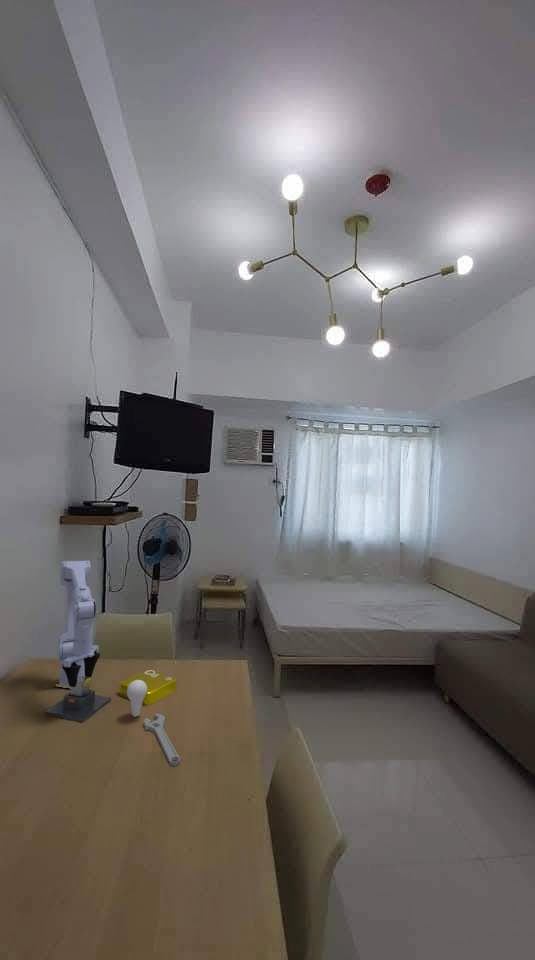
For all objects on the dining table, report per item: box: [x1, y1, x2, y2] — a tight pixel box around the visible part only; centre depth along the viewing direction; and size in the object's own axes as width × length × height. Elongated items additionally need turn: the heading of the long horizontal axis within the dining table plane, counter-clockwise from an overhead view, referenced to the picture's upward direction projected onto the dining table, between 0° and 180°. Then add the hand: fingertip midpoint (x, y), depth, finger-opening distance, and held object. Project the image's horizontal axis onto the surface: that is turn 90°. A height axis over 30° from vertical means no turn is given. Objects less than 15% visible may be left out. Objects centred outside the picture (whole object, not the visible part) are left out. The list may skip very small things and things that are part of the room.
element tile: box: [119, 668, 178, 706], centre depth 147 cm, size 15×15×5 cm
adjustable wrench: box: [143, 713, 181, 767], centre depth 117 cm, size 25×6×2 cm, turn 25°
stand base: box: [43, 688, 112, 723], centre depth 134 cm, size 14×14×5 cm
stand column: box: [69, 676, 91, 698], centre depth 134 cm, size 4×4×8 cm
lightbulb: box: [127, 680, 147, 717], centre depth 130 cm, size 6×6×11 cm
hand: (80, 681), depth 134 cm, fingers open, 7 cm apart
